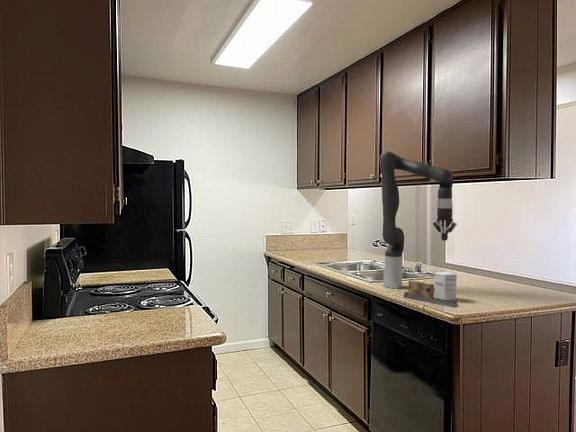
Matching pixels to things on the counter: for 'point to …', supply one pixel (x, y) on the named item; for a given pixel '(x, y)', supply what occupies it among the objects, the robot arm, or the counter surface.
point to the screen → (421, 289)
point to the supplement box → (445, 285)
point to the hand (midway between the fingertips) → (444, 240)
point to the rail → (431, 300)
